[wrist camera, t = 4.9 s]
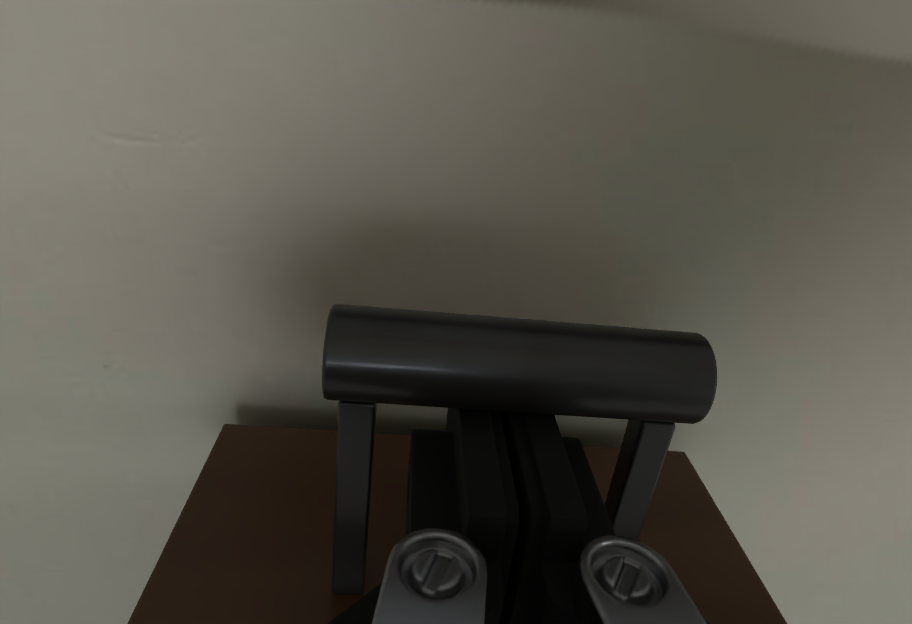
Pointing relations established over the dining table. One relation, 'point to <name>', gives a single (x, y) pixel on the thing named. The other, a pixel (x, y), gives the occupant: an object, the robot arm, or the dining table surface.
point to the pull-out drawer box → (387, 458)
